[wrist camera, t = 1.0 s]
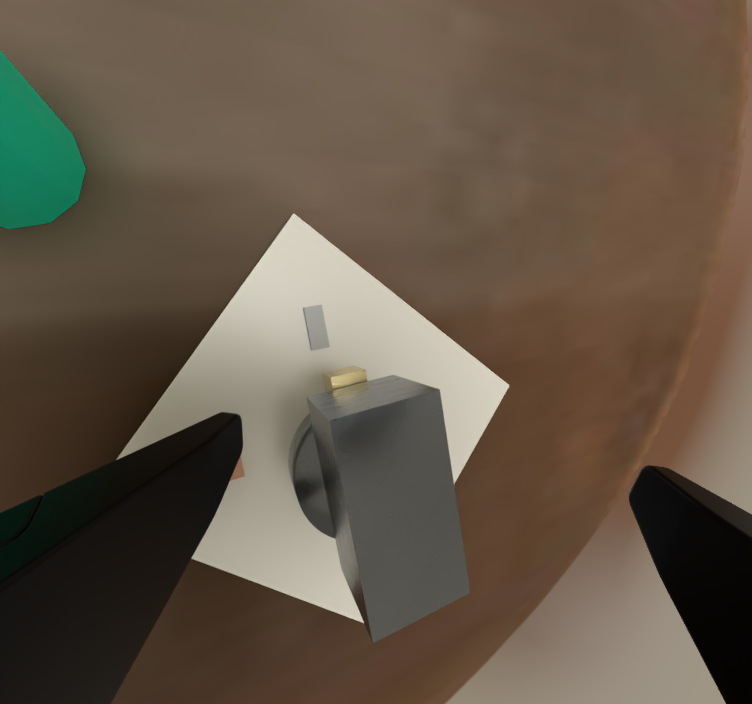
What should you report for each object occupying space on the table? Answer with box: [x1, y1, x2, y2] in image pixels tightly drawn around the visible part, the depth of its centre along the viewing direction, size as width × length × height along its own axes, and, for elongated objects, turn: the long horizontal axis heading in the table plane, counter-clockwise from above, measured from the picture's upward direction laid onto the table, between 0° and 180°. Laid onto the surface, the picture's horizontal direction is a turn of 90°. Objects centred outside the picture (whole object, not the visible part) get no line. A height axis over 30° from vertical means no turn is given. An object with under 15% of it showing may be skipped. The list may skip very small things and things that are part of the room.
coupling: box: [288, 365, 470, 643], centre depth 15 cm, size 8×6×6 cm
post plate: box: [116, 214, 509, 623], centre depth 20 cm, size 18×18×4 cm
